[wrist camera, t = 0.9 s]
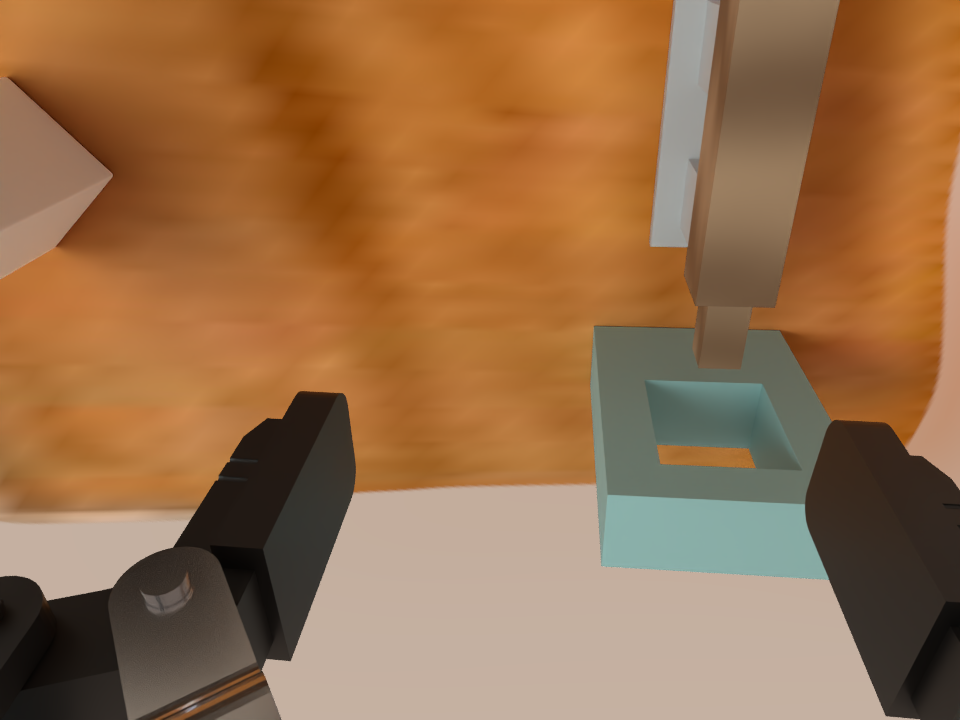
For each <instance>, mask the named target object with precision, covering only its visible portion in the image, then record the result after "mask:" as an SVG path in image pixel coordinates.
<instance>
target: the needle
mask: <svg viewBox="0 0 960 720" xmlns="http://www.w3.org/2000/svg"><path fill="white" fill-rule="evenodd" d="M839 2H840V0H720V7H719V14H718V22H717V29H716V37H715V44H714V52H713V60H712V67H711V75H710V82H709V90H708V97H707V105H706V113H705V120H704V128H703V135H702V143H701V150H700V158H699V165H698V173H697V181H696V188H695V196H694V203H693V211H692V218H691V226H690V234H689V241H688V249H687V256H686V264H685V271H684V277H685V279H686V282H687V285H688V287H689V290H690V293H691V295H692V298H693V301H694V304H695V306H698V312H697V319H696V326H695V332H694V339H693V346H692V349H693V352H694V356H695V359H696V362H697V365H698V368H707V369H741V365H742V360H743V354H744V349H745V344H746V339H747V334H748V328H749V323H750V318H751V313H752V308H753V307H768V308H775V306H776V301H777V296H778V291H779V287H780V282H781V277H782V272H783V268H784V263H785V258H786V253H787V249H788V244H789V239H790V234H791V230H792V225H793V220H794V215H795V211H796V206H797V201H798V196H799V192H800V187H801V182H802V177H803V173H804V168H805V163H806V158H807V154H808V149H809V144H810V139H811V135H812V130H813V125H814V120H815V116H816V111H817V106H818V101H819V97H820V92H821V87H822V82H823V78H824V73H825V68H826V63H827V59H828V54H829V49H830V44H831V40H832V35H833V30H834V25H835V21H836V16H837V11H838V6H839Z"/></svg>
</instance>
